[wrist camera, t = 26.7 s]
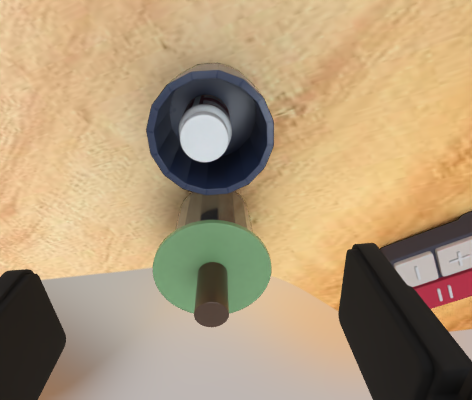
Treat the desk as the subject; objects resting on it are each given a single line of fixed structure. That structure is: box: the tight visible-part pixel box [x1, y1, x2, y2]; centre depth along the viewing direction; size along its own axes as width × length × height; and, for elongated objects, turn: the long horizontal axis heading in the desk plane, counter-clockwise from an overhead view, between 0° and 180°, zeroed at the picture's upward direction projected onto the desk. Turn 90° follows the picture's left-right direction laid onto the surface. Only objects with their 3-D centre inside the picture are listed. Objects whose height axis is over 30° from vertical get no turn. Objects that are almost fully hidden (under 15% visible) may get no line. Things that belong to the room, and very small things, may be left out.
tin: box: [146, 63, 274, 195], centre depth 29 cm, size 10×10×9 cm
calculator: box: [380, 211, 472, 309], centre depth 42 cm, size 11×4×15 cm
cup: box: [175, 191, 252, 232], centre depth 34 cm, size 9×9×10 cm
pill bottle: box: [179, 95, 232, 162], centre depth 29 cm, size 5×5×8 cm
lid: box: [153, 220, 271, 327], centre depth 27 cm, size 11×11×6 cm
